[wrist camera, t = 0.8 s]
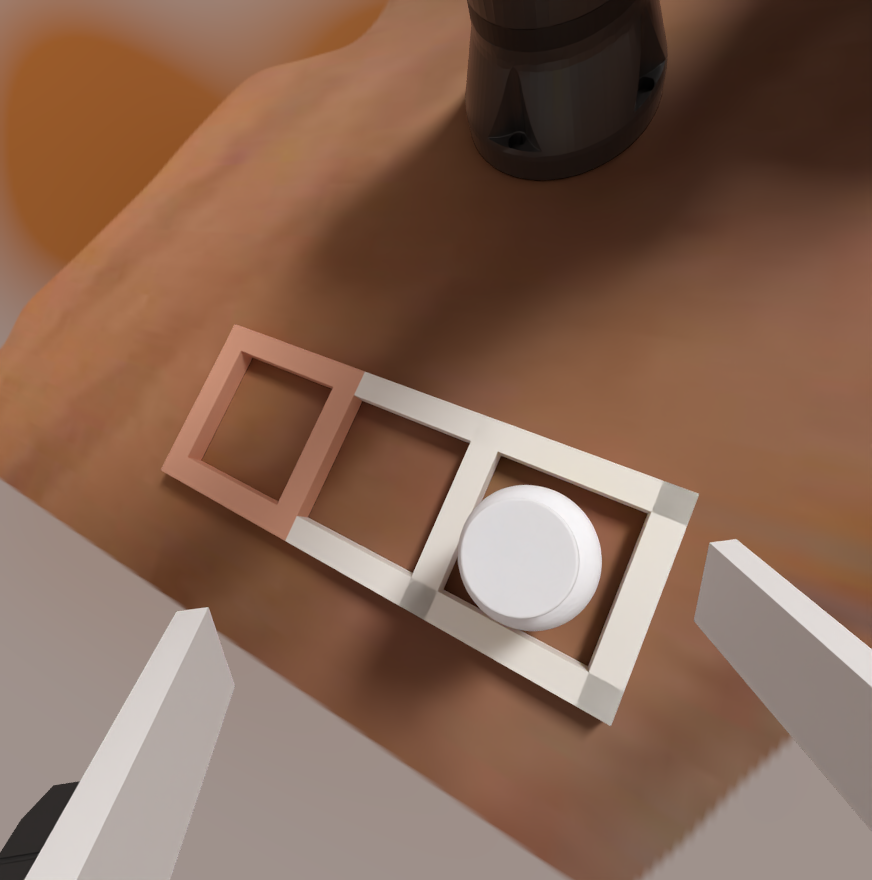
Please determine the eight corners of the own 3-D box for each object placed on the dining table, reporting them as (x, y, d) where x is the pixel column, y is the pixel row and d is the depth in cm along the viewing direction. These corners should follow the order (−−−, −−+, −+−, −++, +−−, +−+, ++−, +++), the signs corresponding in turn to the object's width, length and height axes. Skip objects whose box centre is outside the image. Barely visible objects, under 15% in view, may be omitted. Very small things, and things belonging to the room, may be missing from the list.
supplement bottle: (509, 488, 31) (468, 450, 19) (607, 522, 29) (630, 502, 17) (476, 583, 31) (413, 603, 19) (575, 625, 28) (575, 679, 16)
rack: (692, 496, 28) (699, 493, 27) (608, 716, 27) (610, 725, 25) (246, 331, 41) (234, 323, 40) (175, 472, 40) (160, 470, 39)
